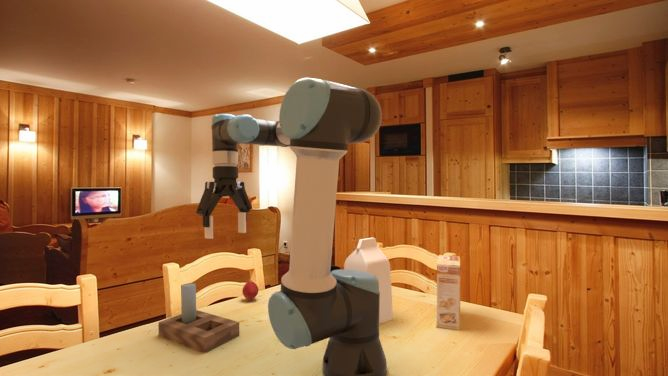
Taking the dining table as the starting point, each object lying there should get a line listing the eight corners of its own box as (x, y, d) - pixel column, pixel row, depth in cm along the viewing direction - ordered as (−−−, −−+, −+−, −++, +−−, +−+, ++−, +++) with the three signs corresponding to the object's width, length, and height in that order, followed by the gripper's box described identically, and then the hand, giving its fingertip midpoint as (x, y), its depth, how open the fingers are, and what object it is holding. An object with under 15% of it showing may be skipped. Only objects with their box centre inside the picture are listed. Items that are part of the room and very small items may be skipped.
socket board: (239, 335, 103) (239, 322, 102) (205, 353, 92) (204, 337, 92) (194, 321, 113) (193, 309, 113) (158, 335, 103) (158, 322, 103)
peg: (199, 331, 106) (198, 284, 105) (187, 336, 102) (186, 288, 102) (190, 328, 108) (190, 282, 107) (178, 333, 104) (178, 286, 104)
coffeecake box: (460, 330, 106) (460, 265, 106) (435, 327, 108) (435, 263, 108) (459, 313, 120) (460, 255, 120) (437, 310, 122) (438, 254, 122)
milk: (366, 328, 107) (366, 243, 107) (341, 317, 116) (341, 238, 116) (393, 318, 115) (393, 239, 115) (368, 309, 124) (368, 234, 123)
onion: (241, 299, 134) (241, 278, 134) (256, 297, 137) (256, 276, 137) (244, 304, 129) (244, 282, 129) (259, 301, 132) (259, 280, 131)
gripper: (244, 168, 121) (245, 230, 122) (182, 164, 100) (183, 240, 100) (261, 167, 118) (262, 231, 118) (201, 163, 96) (202, 241, 96)
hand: (226, 235), depth 109 cm, fingers open, 13 cm apart
